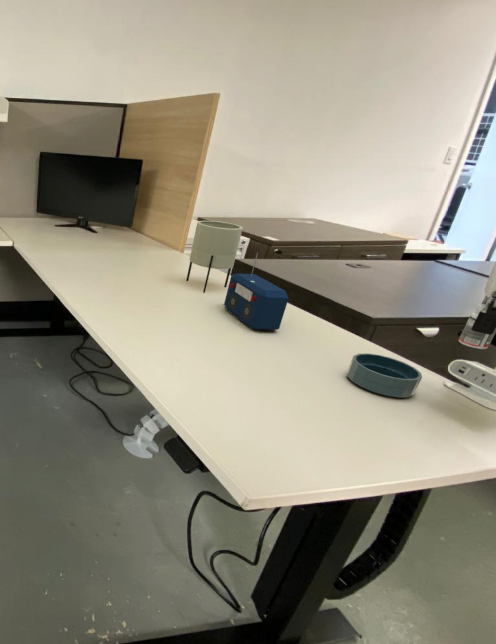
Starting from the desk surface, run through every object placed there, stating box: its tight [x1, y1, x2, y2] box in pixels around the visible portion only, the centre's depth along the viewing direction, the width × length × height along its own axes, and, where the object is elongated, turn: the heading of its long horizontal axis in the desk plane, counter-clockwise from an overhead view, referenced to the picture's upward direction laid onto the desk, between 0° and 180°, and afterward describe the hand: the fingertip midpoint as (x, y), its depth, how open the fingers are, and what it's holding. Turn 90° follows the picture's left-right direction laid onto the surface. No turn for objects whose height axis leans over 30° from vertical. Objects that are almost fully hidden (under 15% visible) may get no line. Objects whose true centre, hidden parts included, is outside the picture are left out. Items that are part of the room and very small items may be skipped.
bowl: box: [346, 352, 423, 398], centre depth 109 cm, size 13×13×5 cm
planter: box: [185, 220, 244, 294], centre depth 169 cm, size 15×16×23 cm
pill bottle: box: [458, 303, 496, 350], centre depth 95 cm, size 5×5×8 cm
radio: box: [223, 251, 289, 331], centre depth 140 cm, size 21×9×20 cm, turn 6°
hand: (481, 328), depth 95 cm, fingers closed on pill bottle, 4 cm apart
